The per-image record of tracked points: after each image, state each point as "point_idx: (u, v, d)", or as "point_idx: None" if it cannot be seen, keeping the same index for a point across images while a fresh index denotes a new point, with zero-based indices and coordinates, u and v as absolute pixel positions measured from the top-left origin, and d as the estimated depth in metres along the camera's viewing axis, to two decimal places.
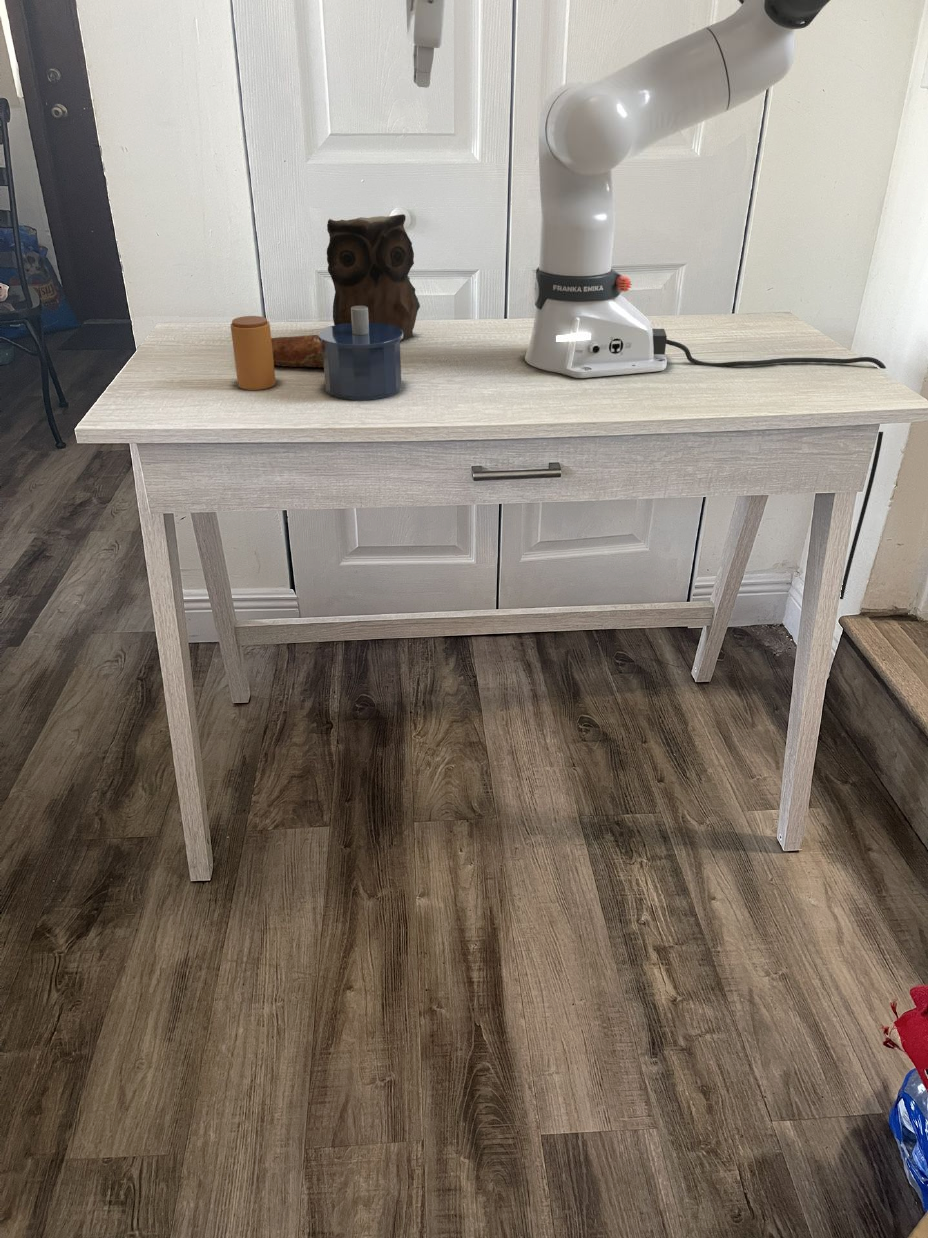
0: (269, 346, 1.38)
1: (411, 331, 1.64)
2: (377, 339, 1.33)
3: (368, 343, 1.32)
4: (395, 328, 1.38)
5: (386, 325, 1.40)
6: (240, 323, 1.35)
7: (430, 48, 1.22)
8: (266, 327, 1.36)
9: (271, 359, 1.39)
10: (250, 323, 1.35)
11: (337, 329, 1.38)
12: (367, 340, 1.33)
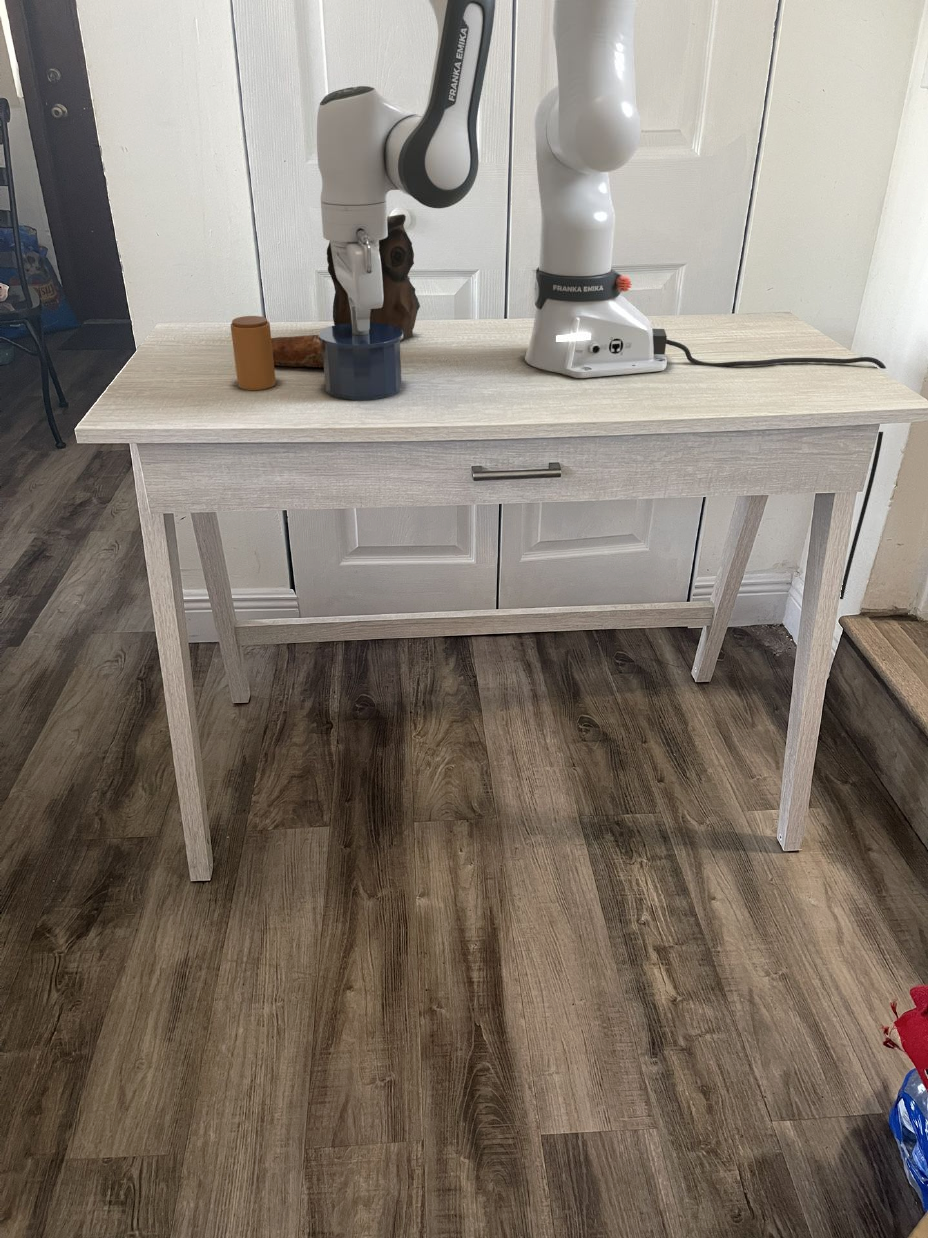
0: (269, 346, 1.38)
1: (411, 331, 1.64)
2: (377, 339, 1.33)
3: (368, 343, 1.32)
4: (395, 328, 1.38)
5: (386, 325, 1.40)
6: (240, 323, 1.35)
7: None
8: (266, 327, 1.36)
9: (271, 359, 1.39)
10: (250, 323, 1.35)
11: (337, 329, 1.38)
12: (367, 340, 1.33)
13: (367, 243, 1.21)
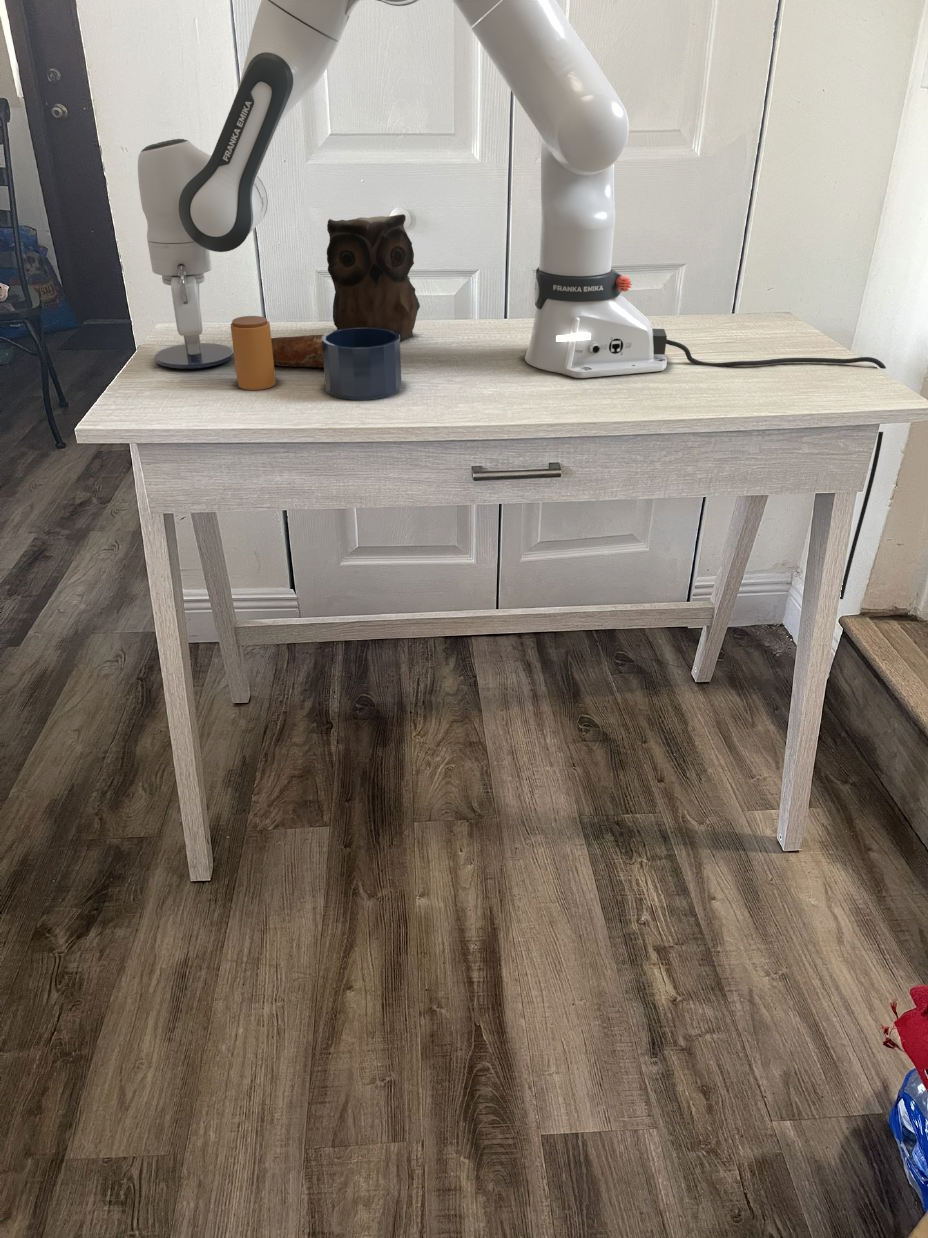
0: (269, 346, 1.38)
1: (411, 331, 1.64)
2: (205, 359, 1.48)
3: (195, 363, 1.47)
4: (227, 349, 1.53)
5: (221, 346, 1.55)
6: (240, 323, 1.35)
7: None
8: (266, 327, 1.36)
9: (271, 359, 1.39)
10: (250, 323, 1.35)
11: (174, 350, 1.53)
12: (196, 360, 1.48)
13: (182, 278, 1.36)
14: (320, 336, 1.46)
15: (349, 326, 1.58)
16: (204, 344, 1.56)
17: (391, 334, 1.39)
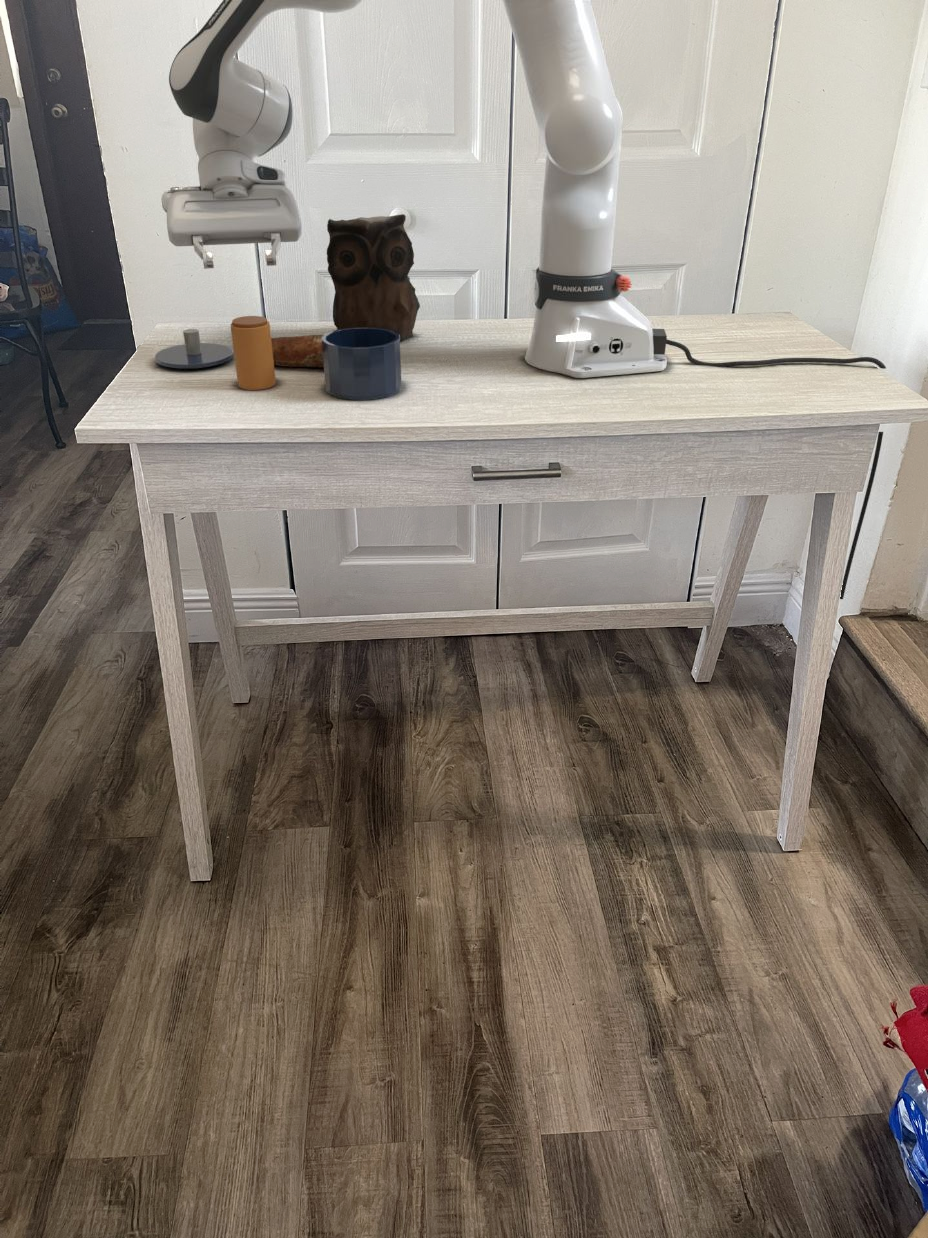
0: (269, 346, 1.38)
1: (411, 331, 1.64)
2: (205, 359, 1.48)
3: (195, 363, 1.47)
4: (227, 349, 1.53)
5: (221, 346, 1.55)
6: (240, 323, 1.35)
7: (192, 238, 1.43)
8: (266, 327, 1.36)
9: (271, 359, 1.39)
10: (250, 323, 1.35)
11: (174, 350, 1.53)
12: (196, 360, 1.48)
13: (164, 193, 1.45)
14: (320, 336, 1.46)
15: (349, 326, 1.58)
16: (204, 344, 1.56)
17: (391, 334, 1.39)
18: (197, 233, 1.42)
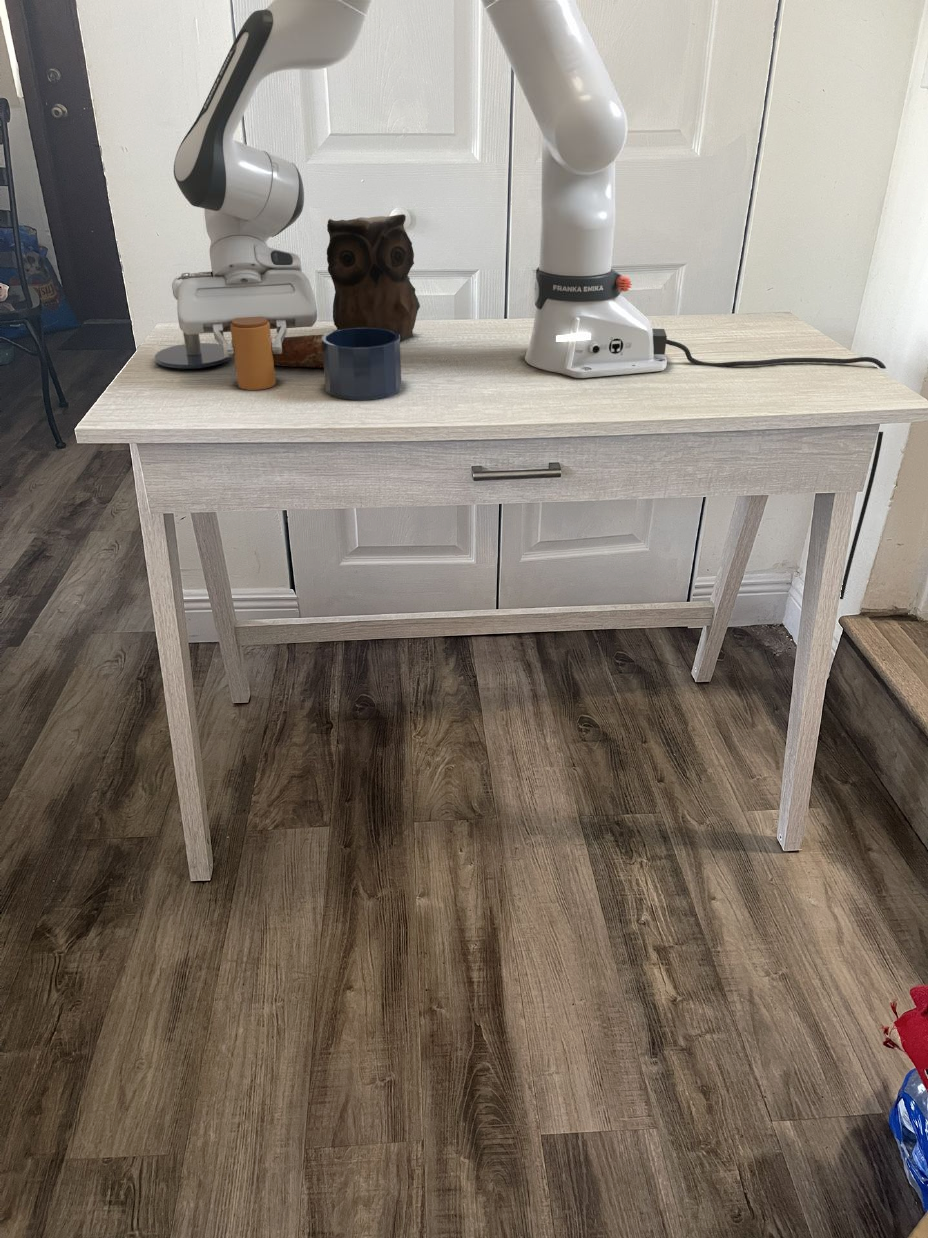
0: (269, 346, 1.38)
1: (411, 331, 1.64)
2: (205, 359, 1.48)
3: (195, 363, 1.47)
4: None
5: None
6: (240, 323, 1.35)
7: (212, 326, 1.38)
8: (266, 327, 1.36)
9: (271, 359, 1.39)
10: (250, 323, 1.35)
11: (174, 350, 1.53)
12: (196, 360, 1.48)
13: (175, 279, 1.39)
14: (320, 336, 1.46)
15: (349, 326, 1.58)
16: (204, 344, 1.56)
17: (391, 334, 1.39)
18: (209, 322, 1.37)
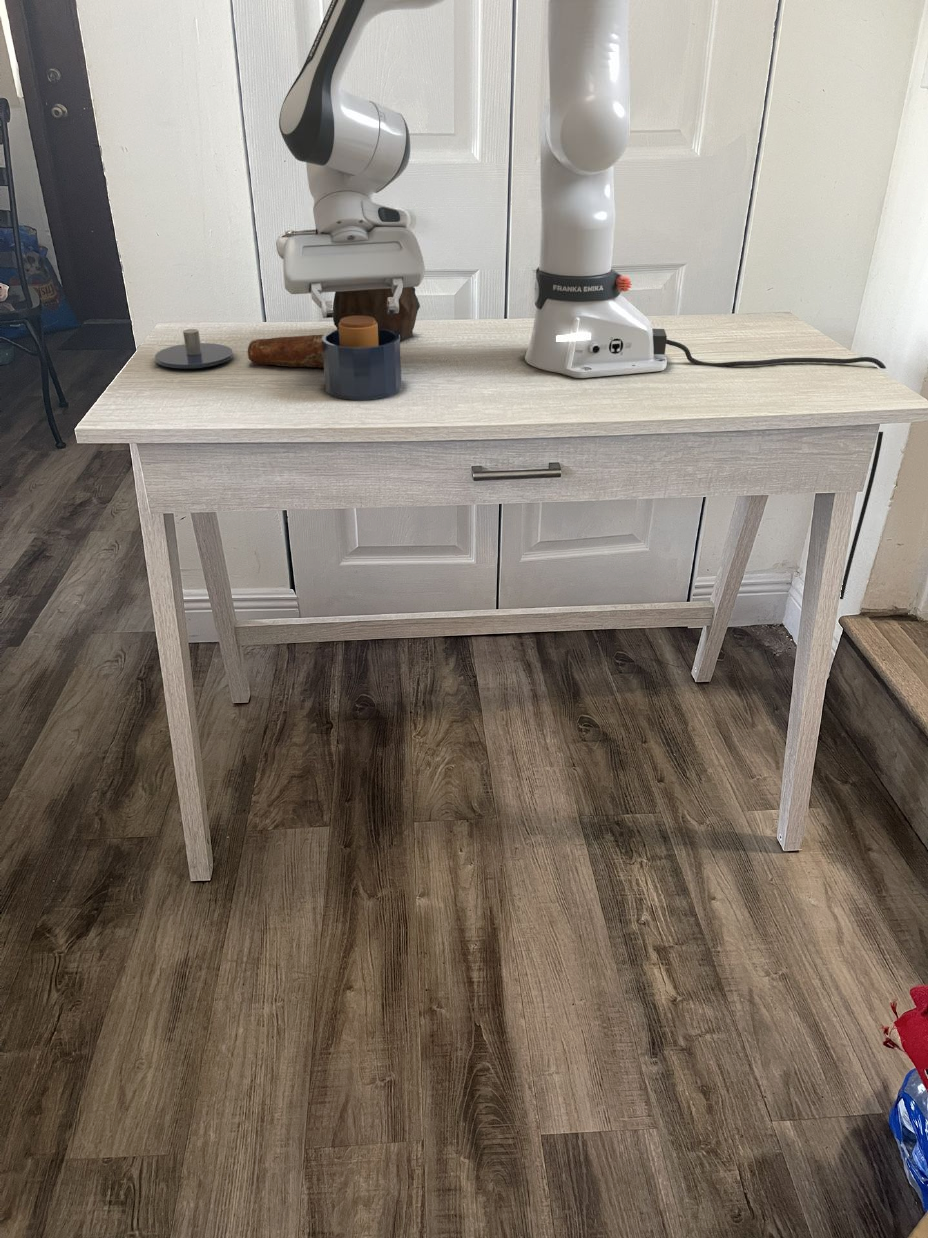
0: None
1: (411, 331, 1.64)
2: (205, 359, 1.48)
3: (195, 363, 1.47)
4: (227, 349, 1.53)
5: (221, 346, 1.55)
6: (349, 323, 1.33)
7: (310, 285, 1.33)
8: (375, 327, 1.35)
9: None
10: (359, 323, 1.34)
11: (174, 350, 1.53)
12: (196, 360, 1.48)
13: (279, 237, 1.35)
14: (320, 336, 1.46)
15: None
16: (204, 344, 1.56)
17: (391, 334, 1.39)
18: (316, 280, 1.33)
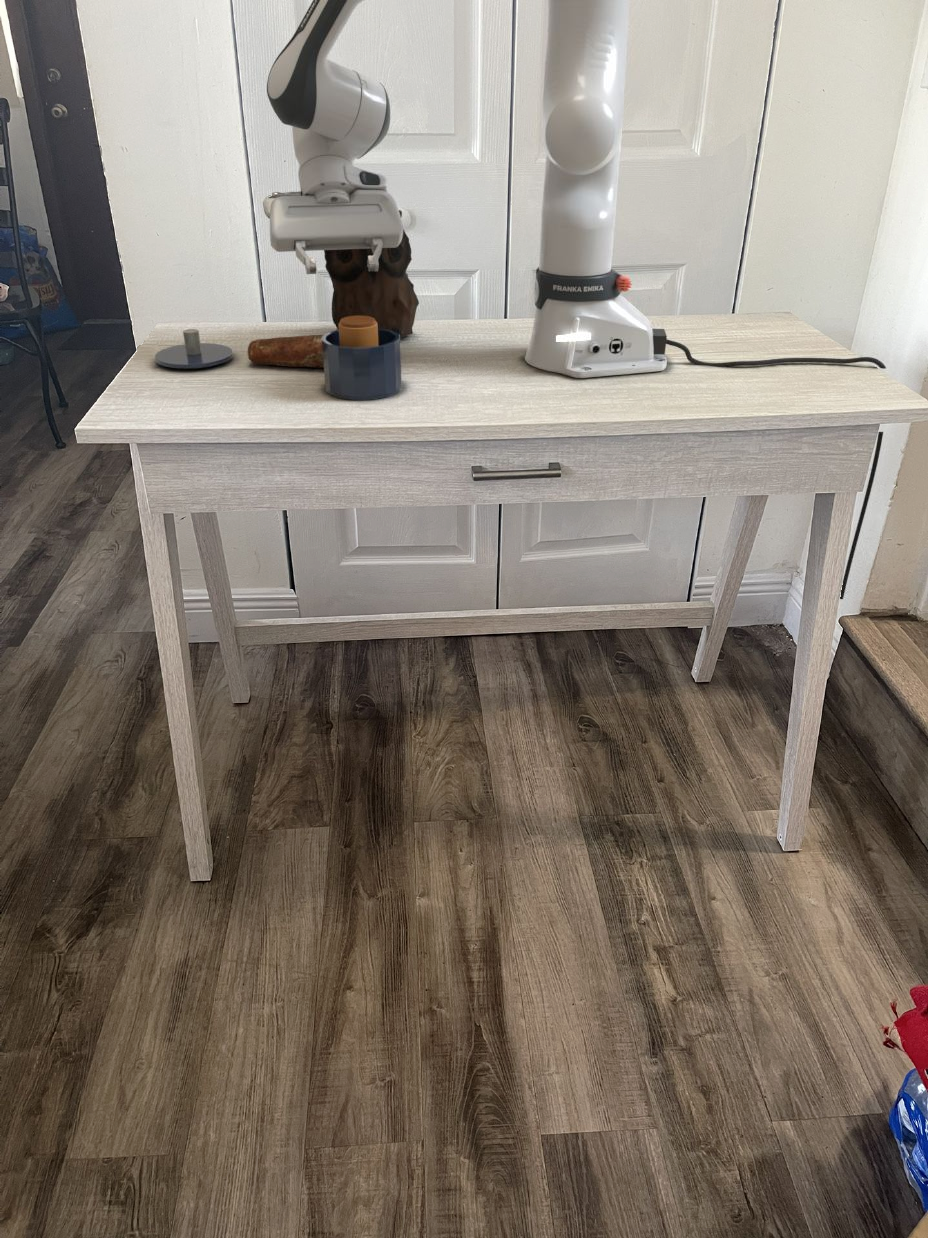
0: None
1: (411, 328, 1.63)
2: (205, 359, 1.48)
3: (195, 363, 1.47)
4: (227, 349, 1.53)
5: (221, 346, 1.55)
6: (349, 323, 1.33)
7: (295, 243, 1.41)
8: (375, 327, 1.35)
9: None
10: (359, 323, 1.34)
11: (174, 350, 1.53)
12: (196, 360, 1.48)
13: (266, 198, 1.43)
14: (320, 336, 1.46)
15: None
16: (204, 344, 1.56)
17: (391, 334, 1.39)
18: (300, 238, 1.41)
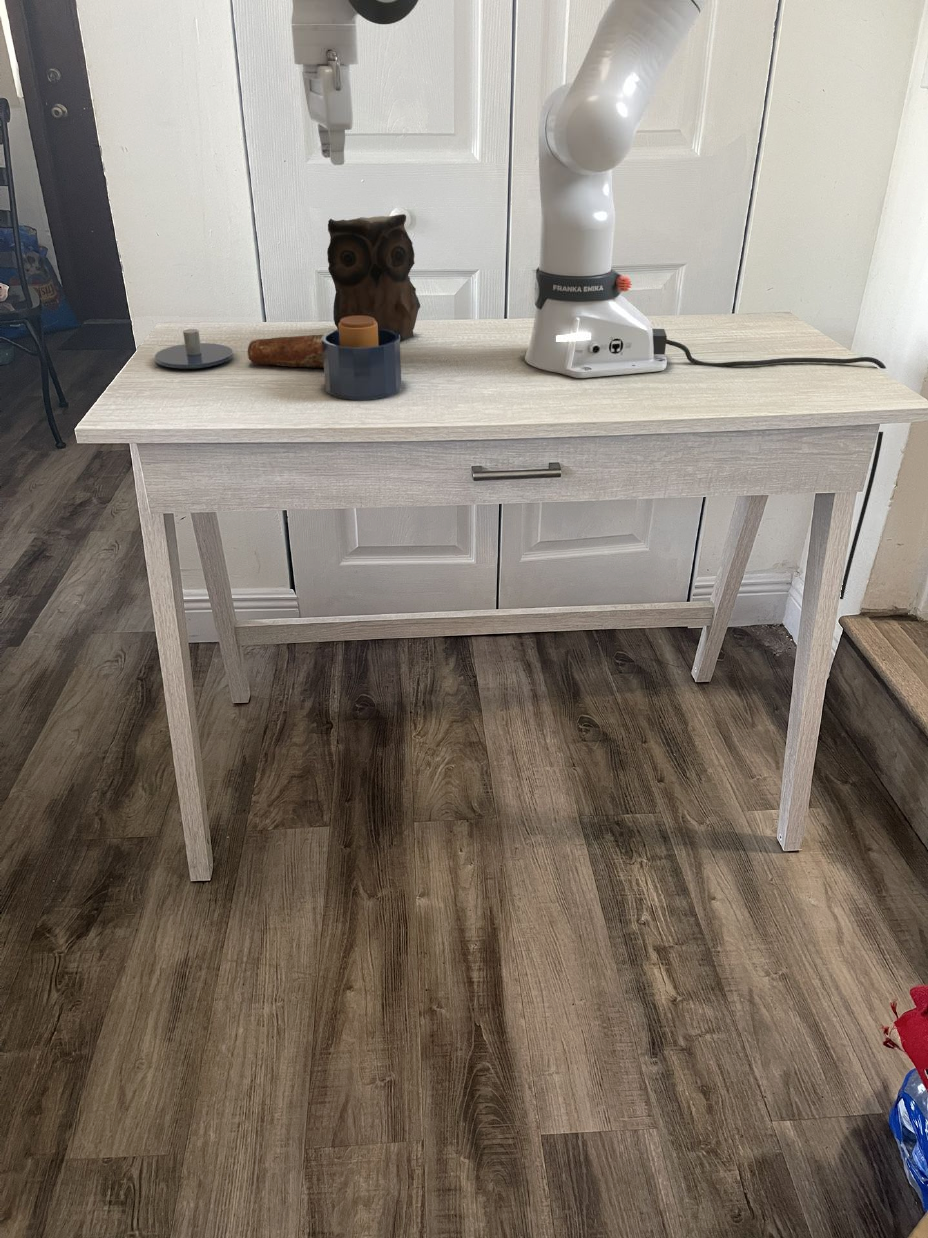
0: None
1: (411, 331, 1.64)
2: (205, 359, 1.48)
3: (195, 363, 1.47)
4: (227, 349, 1.53)
5: (221, 346, 1.55)
6: (349, 323, 1.33)
7: (341, 129, 1.30)
8: (375, 327, 1.35)
9: None
10: (359, 323, 1.34)
11: (174, 350, 1.53)
12: (196, 360, 1.48)
13: (336, 58, 1.23)
14: (320, 336, 1.46)
15: None
16: (204, 344, 1.56)
17: (391, 334, 1.39)
18: None
